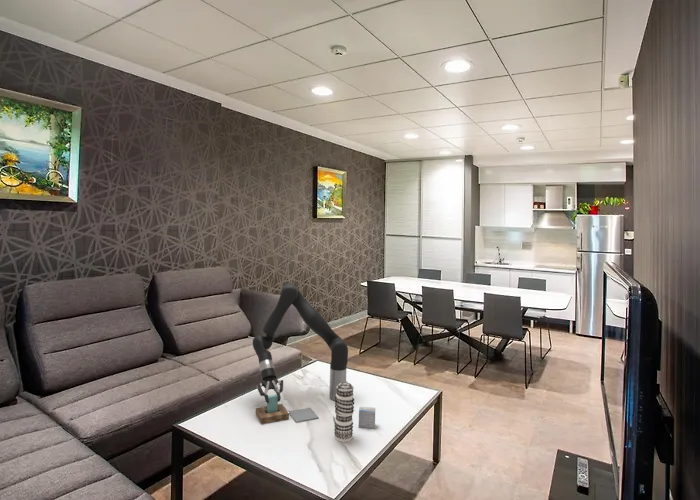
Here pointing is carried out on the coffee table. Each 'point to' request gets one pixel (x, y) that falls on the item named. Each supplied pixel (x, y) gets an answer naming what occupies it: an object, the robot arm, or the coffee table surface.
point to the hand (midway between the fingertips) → (273, 401)
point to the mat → (303, 415)
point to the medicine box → (367, 417)
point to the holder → (271, 414)
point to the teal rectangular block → (272, 404)
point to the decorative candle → (344, 412)
